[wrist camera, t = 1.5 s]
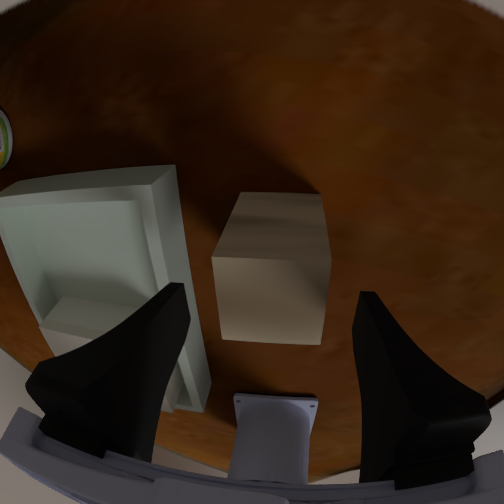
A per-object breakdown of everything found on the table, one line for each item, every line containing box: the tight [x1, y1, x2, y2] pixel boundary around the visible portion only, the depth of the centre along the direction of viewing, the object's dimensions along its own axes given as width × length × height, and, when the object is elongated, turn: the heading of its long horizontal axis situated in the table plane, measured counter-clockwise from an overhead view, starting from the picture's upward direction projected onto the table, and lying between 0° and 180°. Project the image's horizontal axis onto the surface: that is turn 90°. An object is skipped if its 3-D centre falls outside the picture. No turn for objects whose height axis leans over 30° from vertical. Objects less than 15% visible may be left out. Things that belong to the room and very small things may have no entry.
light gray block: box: [39, 296, 184, 413], centre depth 23 cm, size 8×10×4 cm
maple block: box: [212, 192, 332, 345], centre depth 16 cm, size 4×4×7 cm
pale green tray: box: [0, 165, 212, 413], centre depth 22 cm, size 20×14×4 cm
